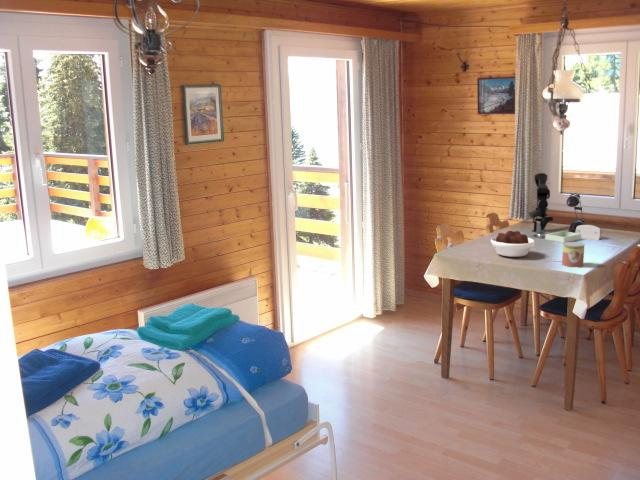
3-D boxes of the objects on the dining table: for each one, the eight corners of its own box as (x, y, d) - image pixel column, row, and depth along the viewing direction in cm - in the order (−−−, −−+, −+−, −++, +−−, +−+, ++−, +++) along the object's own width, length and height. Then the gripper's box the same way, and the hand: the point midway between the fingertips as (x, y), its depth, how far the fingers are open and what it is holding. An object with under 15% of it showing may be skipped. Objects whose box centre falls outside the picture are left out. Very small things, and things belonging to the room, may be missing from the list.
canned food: (563, 267, 398) (564, 245, 396) (560, 262, 409) (561, 241, 407) (584, 267, 396) (586, 246, 394) (581, 263, 407) (582, 242, 405)
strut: (536, 232, 481) (536, 220, 480) (541, 232, 482) (542, 220, 481) (539, 234, 477) (540, 222, 476) (545, 233, 479) (545, 221, 477)
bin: (562, 236, 480) (562, 230, 479) (580, 240, 469) (581, 233, 468) (545, 240, 469) (545, 234, 468) (563, 243, 458) (564, 237, 457)
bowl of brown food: (501, 249, 444) (502, 225, 441) (540, 254, 429) (542, 229, 426) (482, 256, 425) (483, 231, 422) (523, 262, 410) (524, 236, 407)
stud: (538, 234, 487) (539, 231, 486) (550, 236, 479) (550, 233, 479) (530, 236, 481) (530, 233, 481) (541, 238, 474) (541, 235, 474)
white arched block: (572, 238, 475) (575, 223, 476) (574, 239, 479) (576, 224, 480) (599, 240, 466) (601, 225, 467) (600, 241, 470) (603, 226, 471)
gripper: (523, 204, 483) (522, 227, 486) (539, 209, 465) (537, 232, 469) (538, 204, 486) (537, 226, 489) (554, 208, 468) (552, 231, 471)
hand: (540, 229), depth 479 cm, fingers closed on strut, 4 cm apart
